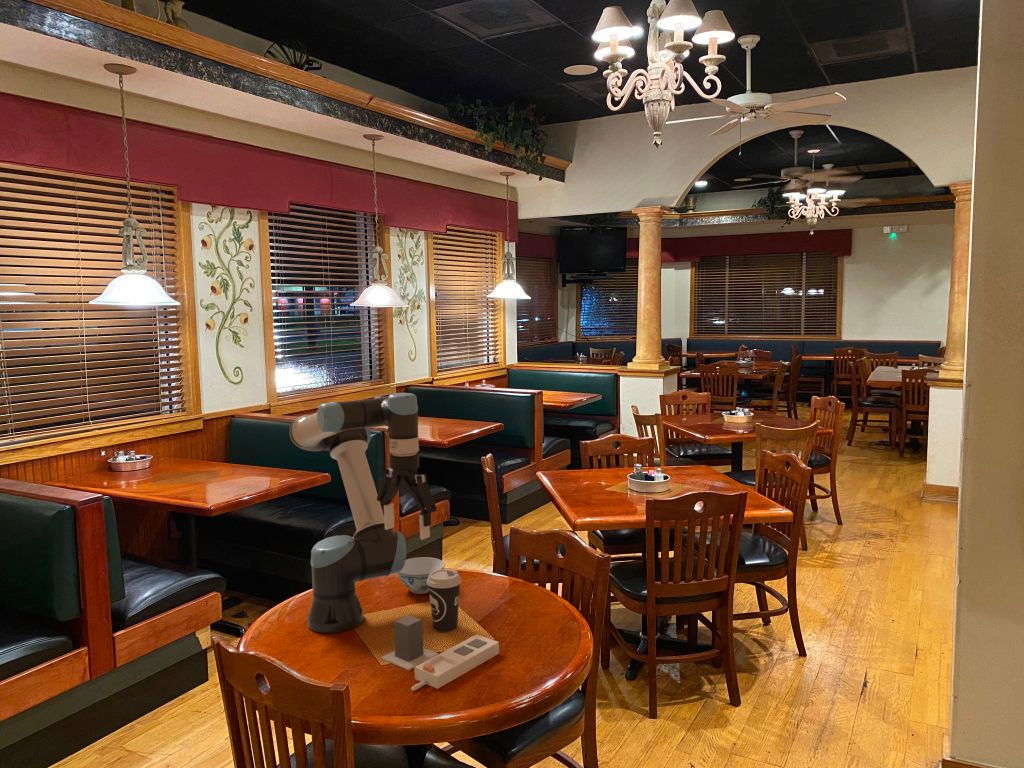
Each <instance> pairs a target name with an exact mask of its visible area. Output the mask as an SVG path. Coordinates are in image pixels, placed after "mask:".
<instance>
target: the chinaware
mask: <svg viewBox="0 0 1024 768" xmlns="http://www.w3.org/2000/svg"><path fill="white" fill-rule="evenodd" d="M440 569H445V562H444V561H443V560H441V559H439V558H437V557H436V558H435V557H430V556H429V557H427V556H425V557H424V556H423V557H420V556H419V557H412V558H408V559H407V558H406V560H405V564H404V567H403V568H402V570H401V571H399V572H397V573H396V575H397V577H398V580H399V581H400V582H401V583H402V584H403V585H404V586H405V587H406V588H407V589H409V591H410V592H411V593H412V594H415V595H417V594H418V595H419V594H421V595H423V594H427V593H429V587H428V585H427V584H426V582H427V578H428V577H429V574H430V573H431V572H433V571H436V570H440Z"/></svg>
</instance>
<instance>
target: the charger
mask: <svg viewBox="0 0 1024 768" xmlns="http://www.w3.org/2000/svg"><path fill="white" fill-rule="evenodd" d="M423 624H424V623H423V620H422V619H421V618H418V617H415V616H412V615H409V614H408V615H406V616H404V617H401V618H399V619H397V620H395V621H394V622H393V631H394V651H395V656H396V657H398V658H400V659H403V660H405V661H408V662H410V661H412V660H414V659H416V658H418V657H420V656H422V655H424V651H423V648H424V628H423V627H424V626H423Z"/></svg>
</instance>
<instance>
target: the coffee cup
mask: <svg viewBox="0 0 1024 768" xmlns="http://www.w3.org/2000/svg"><path fill="white" fill-rule="evenodd" d="M462 582H463V581H462V577H461V576H460V575H459V571H457V570H454V569H450V568H449V569H448V568H444V569H440V570H436V571H433V572H431V573H430V574H429V577H428V578H427V582H426V584H427V585H428V587H429V592H428V593H429V602H430V608H431V609H430V610H431V618H432V619H431V620H432V626H433V627H432V629H433V630H434V631H436V632H439V633H449V632H453V631H456V630H457V628H458V621H459V606H460V605H459V603H460V602H459V601H460V585H461V583H462Z"/></svg>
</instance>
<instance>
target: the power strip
mask: <svg viewBox="0 0 1024 768" xmlns="http://www.w3.org/2000/svg"><path fill="white" fill-rule="evenodd" d="M499 654H500V642H499V641H497V640H495V639H491V638H489V637H485V636H482V635H480V634H475V635H473V636H470V637H468V638H466V639H464V640H463V641H461V642H460V643H458V644H455V645H454V646H452V647H450V648H448V649H446V650H444V651H442V652H441V653H438V655H436V656H435V657H433V658H431V659H429V660H427V661H425V662H423V663H421V664H419V665H417V666H416V667H415V668H414V680H416V681H419V683H416V684H414V685H413V686H412V687H411V691H412V692H415V691H417V690H419V689H420V688H422V687H424V686H425V685H428V686H430V687H432V688H435V689H437V690H438V689H440V688H441V687H443V686H446V685H447V684H449V683H450V682H452V681H454V680H455V679H458V678H459V677H461V676H462V675H464V674H466V673H468V672H470V671H472V670H474V668H476V667H479V666H480V665H482V664H483V663H485V662H487V661H489V660H491V659H492V658H494V657H495V656H497V655H499Z"/></svg>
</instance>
